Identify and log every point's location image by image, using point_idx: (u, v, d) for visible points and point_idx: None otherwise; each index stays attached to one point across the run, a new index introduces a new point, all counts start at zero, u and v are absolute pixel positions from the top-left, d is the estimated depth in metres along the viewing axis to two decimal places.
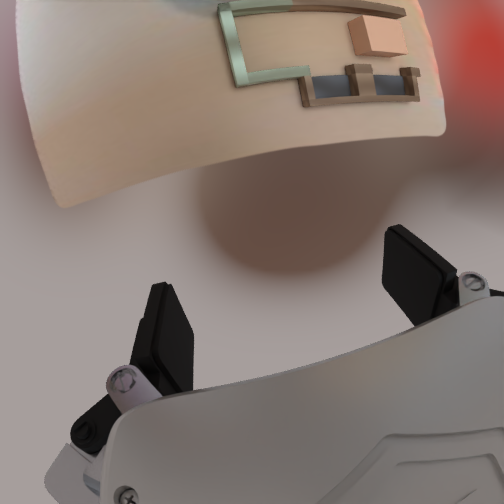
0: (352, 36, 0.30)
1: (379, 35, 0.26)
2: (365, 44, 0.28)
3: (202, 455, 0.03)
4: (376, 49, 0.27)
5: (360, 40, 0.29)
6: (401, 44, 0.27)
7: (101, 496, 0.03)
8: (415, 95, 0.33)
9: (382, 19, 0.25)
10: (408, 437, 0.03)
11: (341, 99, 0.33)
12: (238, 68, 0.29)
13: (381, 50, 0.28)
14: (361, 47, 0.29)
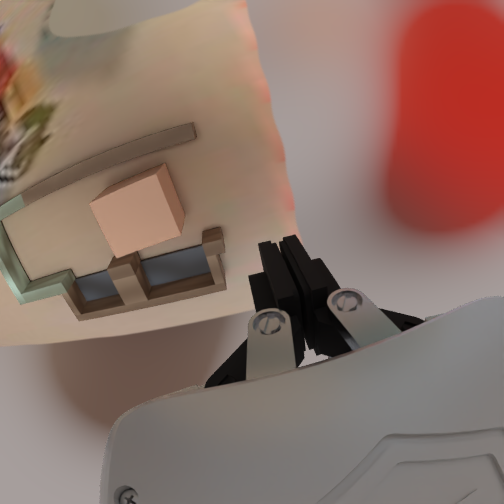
0: None
1: (121, 227, 0.23)
2: None
3: (202, 455, 0.03)
4: (123, 253, 0.24)
5: None
6: (163, 224, 0.23)
7: (101, 496, 0.03)
8: (216, 283, 0.29)
9: (121, 192, 0.21)
10: (408, 437, 0.03)
11: (106, 312, 0.29)
12: (14, 289, 0.26)
13: (131, 251, 0.24)
14: None
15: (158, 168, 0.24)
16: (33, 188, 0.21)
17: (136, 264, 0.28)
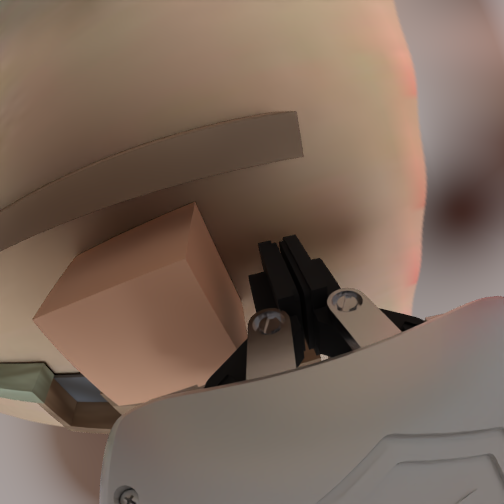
0: None
1: (114, 367, 0.09)
2: None
3: (202, 455, 0.03)
4: (130, 402, 0.10)
5: None
6: (214, 364, 0.10)
7: (101, 496, 0.03)
8: None
9: (95, 304, 0.08)
10: (408, 437, 0.03)
11: (108, 431, 0.16)
12: None
13: (145, 399, 0.11)
14: None
15: (183, 222, 0.10)
16: None
17: None
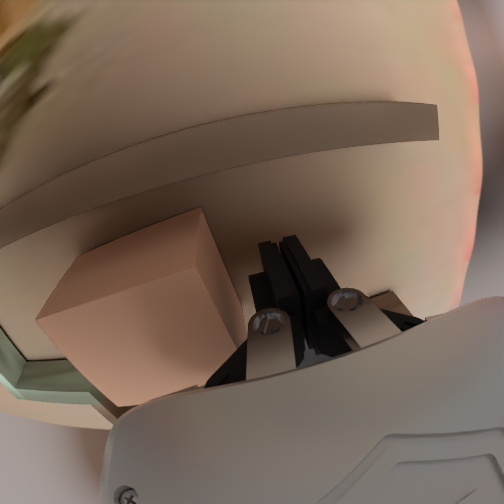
0: None
1: (116, 369, 0.09)
2: None
3: (202, 455, 0.03)
4: (129, 403, 0.10)
5: None
6: (217, 368, 0.10)
7: (101, 496, 0.03)
8: None
9: (101, 308, 0.08)
10: (408, 437, 0.03)
11: None
12: (2, 380, 0.12)
13: (146, 401, 0.11)
14: None
15: (190, 228, 0.10)
16: (3, 212, 0.07)
17: None
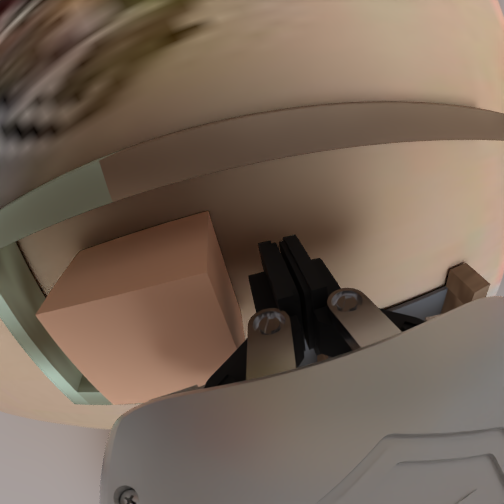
0: None
1: (115, 368, 0.09)
2: None
3: (202, 455, 0.03)
4: (125, 401, 0.10)
5: None
6: None
7: (101, 496, 0.03)
8: None
9: (107, 307, 0.08)
10: (408, 437, 0.03)
11: None
12: (60, 383, 0.12)
13: (142, 400, 0.11)
14: None
15: (199, 232, 0.10)
16: (161, 144, 0.08)
17: None
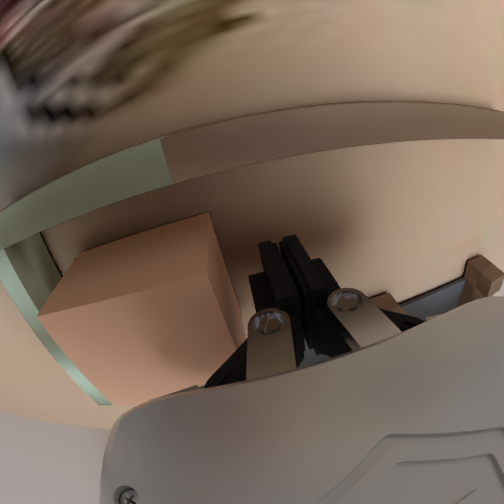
0: None
1: (116, 369, 0.09)
2: None
3: (202, 455, 0.03)
4: (126, 402, 0.10)
5: None
6: None
7: (101, 496, 0.03)
8: None
9: (108, 309, 0.08)
10: (408, 437, 0.03)
11: None
12: (85, 384, 0.13)
13: (143, 401, 0.11)
14: None
15: (199, 234, 0.10)
16: (230, 126, 0.08)
17: None
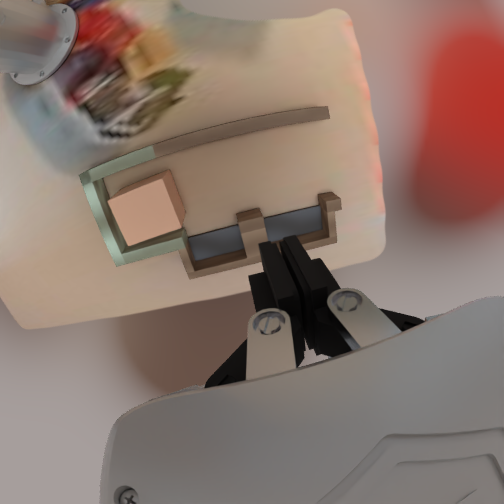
0: None
1: (133, 220, 0.29)
2: None
3: (202, 455, 0.03)
4: (133, 242, 0.30)
5: None
6: (167, 218, 0.29)
7: (101, 496, 0.03)
8: (330, 236, 0.35)
9: (134, 192, 0.27)
10: (408, 437, 0.03)
11: (224, 267, 0.35)
12: (113, 249, 0.32)
13: (140, 240, 0.30)
14: None
15: (164, 174, 0.30)
16: (171, 141, 0.27)
17: None
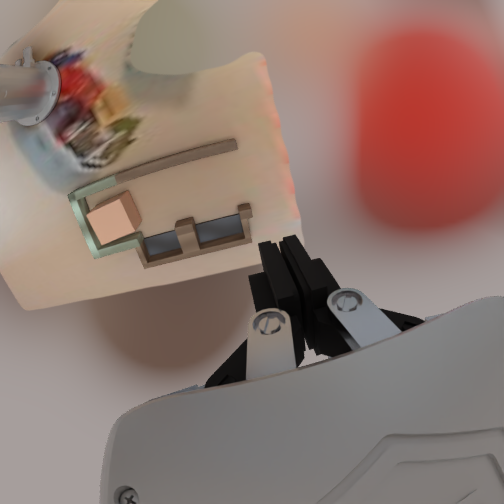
0: None
1: (103, 227, 0.41)
2: None
3: (202, 455, 0.03)
4: (105, 242, 0.42)
5: None
6: (125, 225, 0.41)
7: (101, 496, 0.03)
8: (245, 238, 0.47)
9: (102, 209, 0.39)
10: (408, 437, 0.03)
11: (167, 260, 0.47)
12: (91, 247, 0.44)
13: (109, 240, 0.42)
14: None
15: (123, 194, 0.41)
16: (126, 172, 0.39)
17: (193, 225, 0.46)
